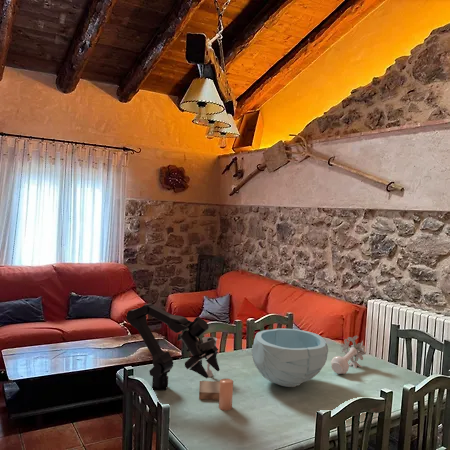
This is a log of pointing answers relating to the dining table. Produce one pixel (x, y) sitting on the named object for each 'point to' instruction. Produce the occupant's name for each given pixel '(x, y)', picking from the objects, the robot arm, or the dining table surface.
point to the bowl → (289, 355)
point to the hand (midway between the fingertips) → (213, 374)
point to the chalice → (207, 362)
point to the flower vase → (348, 356)
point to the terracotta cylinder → (225, 394)
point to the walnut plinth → (209, 390)
